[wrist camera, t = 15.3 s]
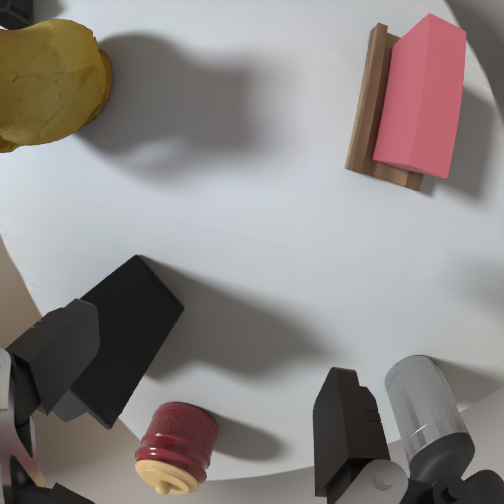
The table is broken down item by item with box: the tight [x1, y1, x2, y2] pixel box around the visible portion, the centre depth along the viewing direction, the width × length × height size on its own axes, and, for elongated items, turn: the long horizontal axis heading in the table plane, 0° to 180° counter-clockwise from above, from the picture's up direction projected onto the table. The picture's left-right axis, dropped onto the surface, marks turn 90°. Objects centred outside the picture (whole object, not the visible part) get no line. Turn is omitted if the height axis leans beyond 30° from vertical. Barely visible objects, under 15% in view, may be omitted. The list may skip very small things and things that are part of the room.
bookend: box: [52, 255, 184, 430], centre depth 35 cm, size 23×11×24 cm, turn 129°
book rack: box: [345, 23, 423, 191], centre depth 30 cm, size 9×19×4 cm, turn 169°
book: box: [371, 13, 466, 179], centre depth 25 cm, size 4×15×12 cm, turn 169°
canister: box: [135, 402, 218, 495], centre depth 44 cm, size 13×13×18 cm
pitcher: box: [0, 19, 112, 153], centre depth 24 cm, size 17×19×25 cm
